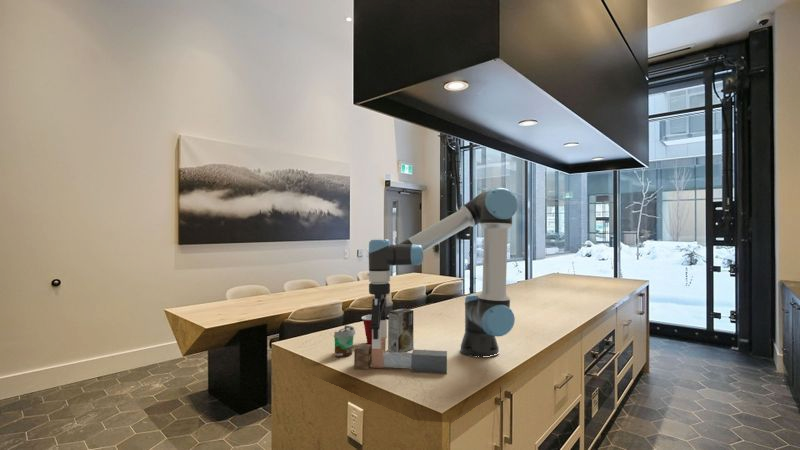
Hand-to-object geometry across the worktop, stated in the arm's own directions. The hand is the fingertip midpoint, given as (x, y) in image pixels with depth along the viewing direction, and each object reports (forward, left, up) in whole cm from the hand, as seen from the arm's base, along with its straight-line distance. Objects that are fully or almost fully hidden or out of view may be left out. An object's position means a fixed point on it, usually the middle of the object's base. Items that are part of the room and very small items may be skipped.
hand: (379, 343), depth 134 cm
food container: (+15, -13, -9) cm, 22 cm away
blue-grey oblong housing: (-18, 0, -9) cm, 20 cm away
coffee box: (-5, -23, -9) cm, 25 cm away
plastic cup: (+8, -31, -9) cm, 33 cm away
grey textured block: (+6, 0, -9) cm, 10 cm away
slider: (-4, 0, -8) cm, 9 cm away
